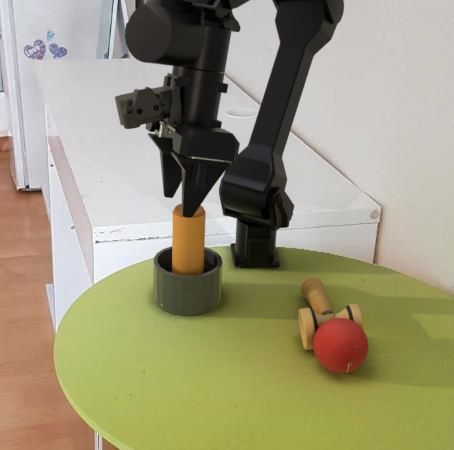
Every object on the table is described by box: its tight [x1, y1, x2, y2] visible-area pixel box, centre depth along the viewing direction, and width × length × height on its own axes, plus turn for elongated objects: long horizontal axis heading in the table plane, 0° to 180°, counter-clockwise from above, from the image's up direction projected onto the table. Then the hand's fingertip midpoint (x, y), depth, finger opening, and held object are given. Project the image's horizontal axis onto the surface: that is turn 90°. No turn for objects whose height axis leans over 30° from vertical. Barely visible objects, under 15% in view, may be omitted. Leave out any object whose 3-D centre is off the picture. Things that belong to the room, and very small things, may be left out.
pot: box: [153, 245, 223, 317], centre depth 96 cm, size 9×9×6 cm
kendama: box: [297, 277, 369, 374], centre depth 89 cm, size 8×6×18 cm
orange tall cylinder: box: [171, 203, 207, 275], centre depth 94 cm, size 4×4×12 cm
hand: (177, 206), depth 86 cm, fingers open, 9 cm apart
